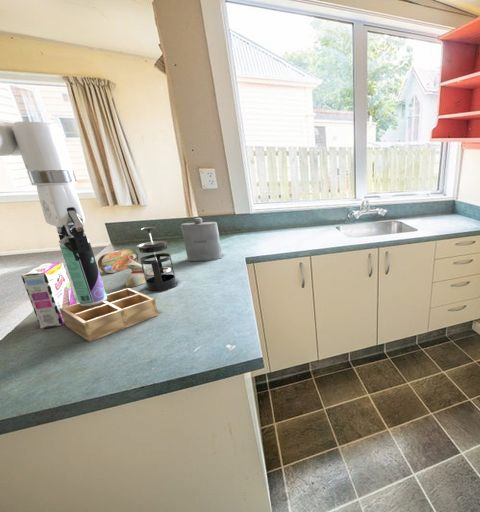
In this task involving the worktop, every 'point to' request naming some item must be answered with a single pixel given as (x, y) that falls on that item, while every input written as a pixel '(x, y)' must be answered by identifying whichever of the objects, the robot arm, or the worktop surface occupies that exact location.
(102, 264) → the tin
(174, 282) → the french press
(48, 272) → the candy bar box
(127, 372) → the worktop surface
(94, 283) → the spray can
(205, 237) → the flask
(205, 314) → the worktop surface
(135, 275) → the chocolate bunny
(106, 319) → the tray
